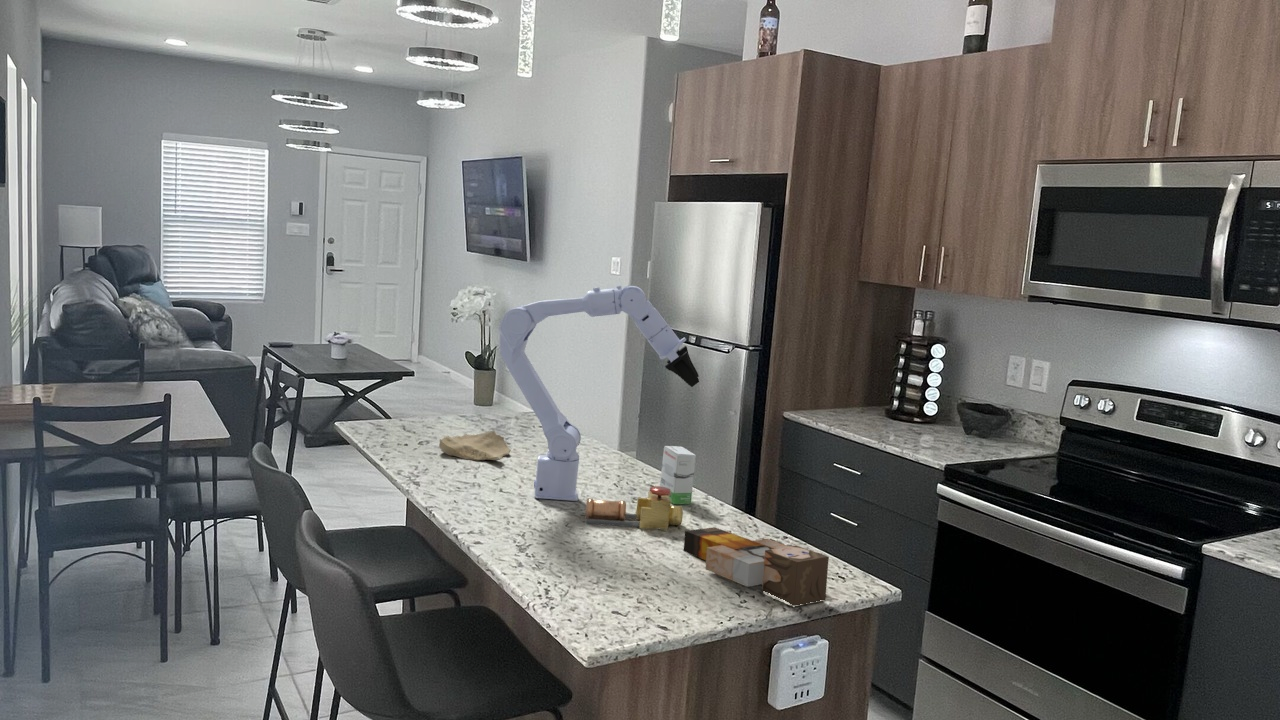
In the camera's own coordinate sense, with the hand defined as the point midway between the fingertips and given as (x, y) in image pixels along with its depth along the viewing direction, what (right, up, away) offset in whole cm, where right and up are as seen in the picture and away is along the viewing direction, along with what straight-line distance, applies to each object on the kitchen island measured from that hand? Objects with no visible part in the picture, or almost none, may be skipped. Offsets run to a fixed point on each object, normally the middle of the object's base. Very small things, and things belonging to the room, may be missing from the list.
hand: (695, 381), depth 205 cm
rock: (-53, -20, +33) cm, 65 cm away
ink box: (-4, -28, +12) cm, 31 cm away
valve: (-9, -30, -9) cm, 32 cm away
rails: (-18, -29, -10) cm, 36 cm away
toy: (+8, -35, -33) cm, 49 cm away
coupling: (-20, -29, -10) cm, 36 cm away
